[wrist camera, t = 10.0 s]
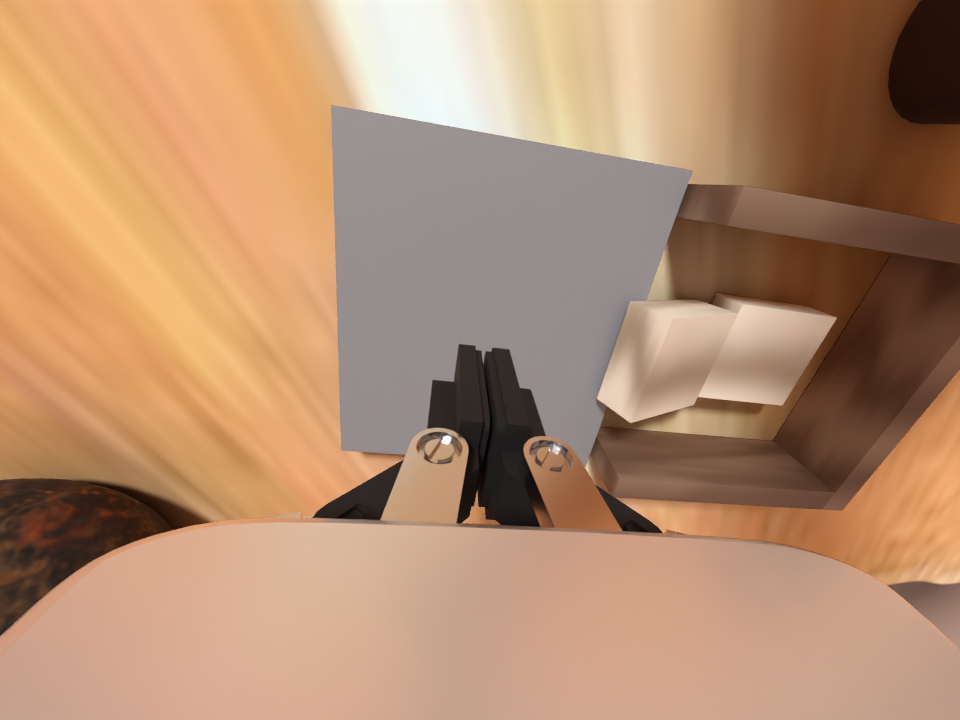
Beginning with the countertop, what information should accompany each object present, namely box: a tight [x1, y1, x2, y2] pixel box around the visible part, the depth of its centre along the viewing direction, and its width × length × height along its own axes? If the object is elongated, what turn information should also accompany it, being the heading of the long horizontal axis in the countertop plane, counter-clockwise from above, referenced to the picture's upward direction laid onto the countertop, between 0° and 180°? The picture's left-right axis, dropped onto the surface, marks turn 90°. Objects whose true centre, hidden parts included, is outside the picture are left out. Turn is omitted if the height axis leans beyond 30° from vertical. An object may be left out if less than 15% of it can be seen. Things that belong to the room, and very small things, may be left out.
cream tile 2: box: [698, 293, 837, 405], centre depth 22 cm, size 6×6×2 cm
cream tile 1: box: [597, 299, 738, 423], centre depth 20 cm, size 6×6×2 cm
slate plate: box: [331, 105, 692, 467], centre depth 20 cm, size 18×16×2 cm
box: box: [590, 184, 960, 510], centre depth 21 cm, size 17×16×5 cm
